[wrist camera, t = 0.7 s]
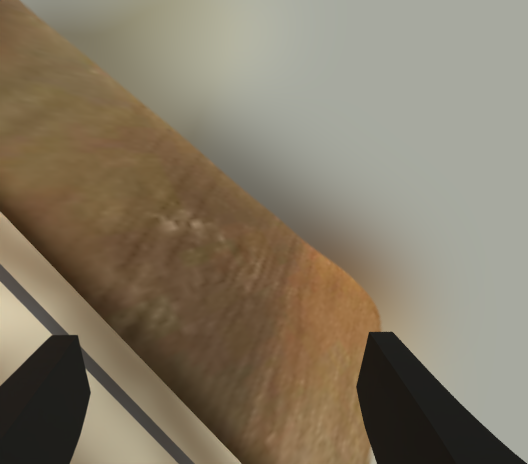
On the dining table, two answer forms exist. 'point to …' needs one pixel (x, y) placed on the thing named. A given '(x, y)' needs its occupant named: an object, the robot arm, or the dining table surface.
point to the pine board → (96, 368)
